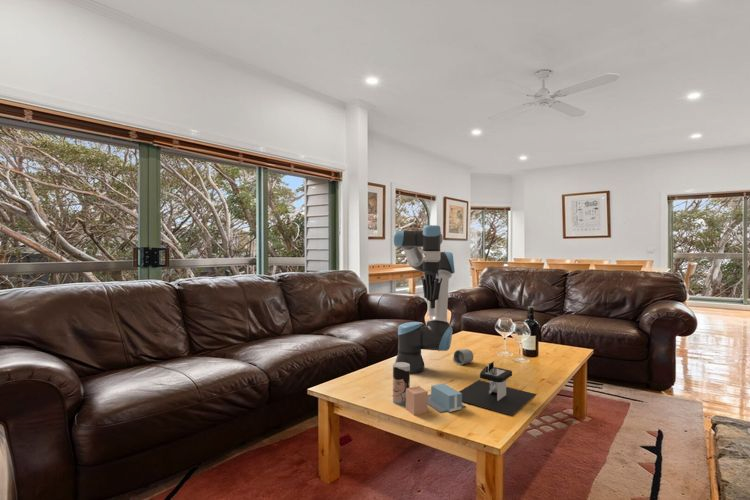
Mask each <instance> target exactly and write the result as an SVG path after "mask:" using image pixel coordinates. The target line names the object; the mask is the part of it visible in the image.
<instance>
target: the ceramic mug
mask: <svg viewBox="0 0 750 500" xmlns="http://www.w3.org/2000/svg"><path fill="white" fill-rule="evenodd" d="M472 361H474V353H473V351H472V350H470V349H468V348H465V349H464V348H463V349H457V350H455V351H454V353H453V357H452V362H454V363H455V364H456V365H458V366H462V365H467V364H470V363H472Z"/></svg>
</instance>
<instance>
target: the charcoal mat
mask: <svg viewBox="0 0 750 500" xmlns="http://www.w3.org/2000/svg"><path fill="white" fill-rule="evenodd" d="M428 406H429V407H430V408H432V409H433V410H435V411H437V412H439V414H440V413H446V412H448V411H447V410H445V409H444V408H442V407H441V406H439V405H437V404H436V403H434V402H433V401H431V393H430V394H428ZM466 407H467V406H466V405H465V404H463V403H462V409H464V408H466Z"/></svg>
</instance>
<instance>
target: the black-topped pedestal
mask: <svg viewBox="0 0 750 500" xmlns="http://www.w3.org/2000/svg"><path fill="white" fill-rule="evenodd" d="M512 376H513V371H512V370H510V369H505V368H501V367H497V366H495V360H493V361H492V362H490V363H488V365H484V368H483V369H482V370H481V371H480V373H479V378H480V379H478V380H476V381H474V382H473V383H471V384H469V385H468V386H466V387H464V388H462V389H460V390H459V391H458V392H460V393H462V403H467V404H470V405H475V406H477V407H482V408H484V409H488V410H492V411H495V412H499V413H502V414H506V415H509V416H513V415H514V414H516V413H517V412H518V411H519V410H520V409H521V408H523V406H525V405H526V404H527V403H528V402H530V401H531V399H533V398H534V397H535V396H536V395H537V393H535V392H534V393H533V392H530V391H525V390H520V389H517V388H513V387H509V386H507V380H508V379H509V378H511V377H512ZM481 379H482V380H481Z"/></svg>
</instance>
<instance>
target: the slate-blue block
mask: <svg viewBox="0 0 750 500" xmlns="http://www.w3.org/2000/svg"><path fill="white" fill-rule="evenodd" d="M430 394H431V401H433V402H434V403H436V404H437V405H439V406H441V407H442V408H444V409H445V410H447V411H446V412H448V413H449V412H450V413H451V412H454V411H459V410H463V408H462V404H463V401H462V393H460V392H459V391H458V390H457V389H455V388H453V387H450V386H449V385H447V384H445V383H439V384H433V385H431V386H430Z"/></svg>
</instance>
